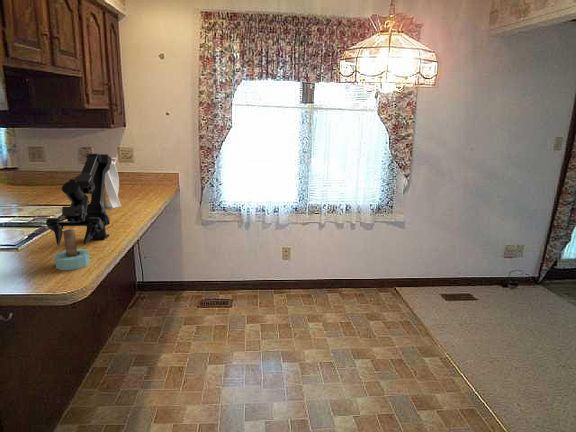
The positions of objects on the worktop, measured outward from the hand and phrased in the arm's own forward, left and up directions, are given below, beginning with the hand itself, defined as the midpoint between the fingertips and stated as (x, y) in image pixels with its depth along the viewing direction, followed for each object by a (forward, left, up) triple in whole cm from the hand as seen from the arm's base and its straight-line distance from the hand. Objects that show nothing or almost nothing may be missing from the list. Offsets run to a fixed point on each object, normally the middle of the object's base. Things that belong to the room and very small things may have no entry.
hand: (71, 244), depth 144 cm
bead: (+1, 0, -8) cm, 8 cm away
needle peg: (+1, 0, -8) cm, 8 cm away
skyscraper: (-82, -20, -8) cm, 85 cm away
